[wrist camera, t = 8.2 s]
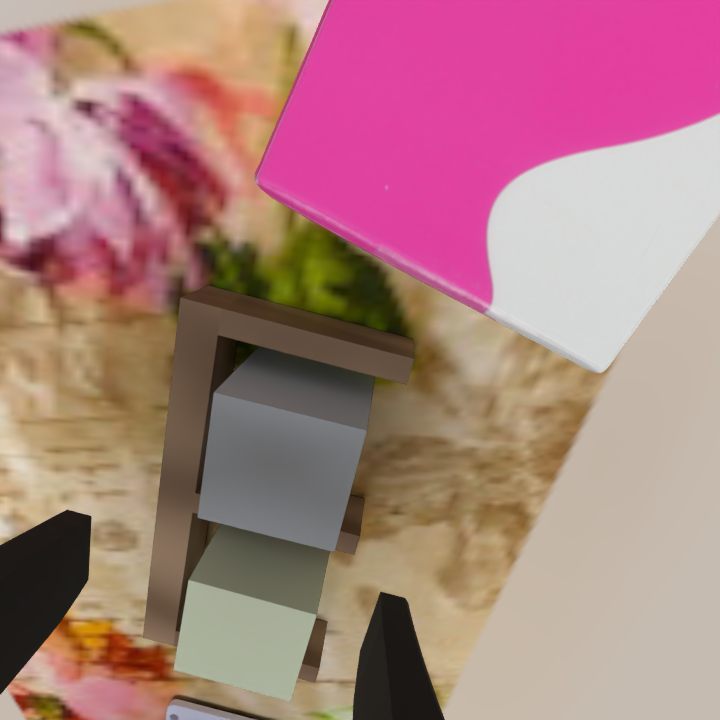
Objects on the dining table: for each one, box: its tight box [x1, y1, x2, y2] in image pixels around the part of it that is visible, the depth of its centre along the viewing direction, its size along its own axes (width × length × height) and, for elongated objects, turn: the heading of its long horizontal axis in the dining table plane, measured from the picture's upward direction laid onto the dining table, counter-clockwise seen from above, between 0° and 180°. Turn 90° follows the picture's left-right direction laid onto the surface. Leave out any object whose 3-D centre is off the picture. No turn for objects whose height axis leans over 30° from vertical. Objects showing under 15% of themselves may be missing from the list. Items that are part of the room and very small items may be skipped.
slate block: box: [198, 346, 375, 552], centre depth 18 cm, size 5×5×5 cm
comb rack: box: [143, 285, 414, 682], centre depth 20 cm, size 17×8×2 cm, turn 166°
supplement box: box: [255, 0, 720, 373], centre depth 11 cm, size 6×6×12 cm
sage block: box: [174, 524, 330, 702], centre depth 20 cm, size 5×5×5 cm
